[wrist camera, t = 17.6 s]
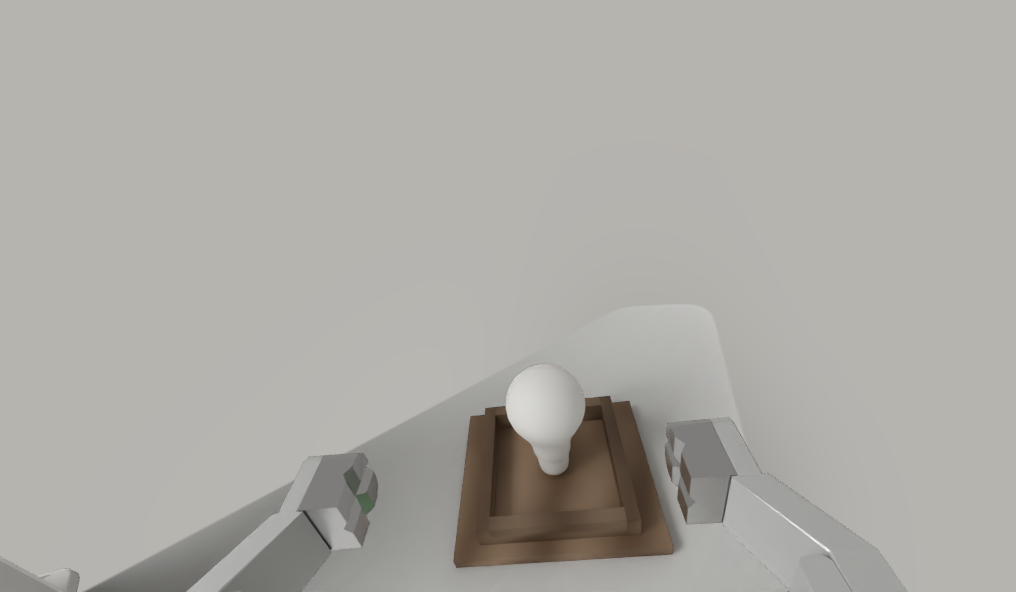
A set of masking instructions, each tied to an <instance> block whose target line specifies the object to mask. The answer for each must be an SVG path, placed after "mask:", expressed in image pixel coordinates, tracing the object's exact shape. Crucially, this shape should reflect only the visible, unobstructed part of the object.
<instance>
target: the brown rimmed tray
mask: <svg viewBox="0 0 1016 592" xmlns="http://www.w3.org/2000/svg"><path fill="white" fill-rule="evenodd" d="M570 444H571V446H570V451H569V465H568V467H567V469H566V470H565V471H564V472H563V473H561V474H559V475H549V474H547V473H545V472H544V471H543V470H542V469H541V467H540V464H539V460H538V457H537V456H536V455H535V453H534V451H533V447H532V445H531V443H529V442H528V441H526V440H525V439H524V438H522V437H521V436H520V435H519V434H518V433H517V432H516V431H515V430H514V428H513V427H512V425H511V423H510V421H509V420H508V416H507V412H506V406H503V407H493V408H486V410H485V415H480V416H471V418H470V426H469V435H468V443H467V451H466V460H465V468H464V477H463V485H462V493H461V502H460V510H459V519H458V527H457V536H456V544H455V552H454V563H455V565H456V568H458V567H474V566H490V565H506V564H522V563H539V562H555V561H571V560H587V559H603V558H619V557H635V556H652V555H668V554H672V553H673V545H672V542H671V538H670V535H669V532H668V528H667V525H666V522H665V518H664V515H663V512H662V508H661V505H660V502H659V499H658V495H657V492H656V489H655V485H654V482H653V479H652V475H651V472H650V469H649V465H648V462H647V459H646V455H645V452H644V449H643V445H642V442H641V439H640V435H639V432H638V429H637V426H636V422H635V419H634V416H633V412H632V409H631V406H630V402H629V401H624V402H614V403H612V402H611V398H610V396H604V397H594V398H585V413H584V417H583V420H582V423H581V424H580V426H579V428H578V429H577V431H576V432H575V434H574V435H573V436H572V437H571V441H570Z"/></svg>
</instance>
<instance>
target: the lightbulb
mask: <svg viewBox="0 0 1016 592" xmlns="http://www.w3.org/2000/svg"><path fill="white" fill-rule="evenodd" d="M506 412H507V416H508V420H509V421H510V423H511V425H512V427H513V428H514V430H515V431H516V432H517V433H518V434H519V435H520V436H521V437H522V438H524V439H525V440H526V441H528V442H529V443H531V445H532V447H533V451H534V453H535V455H536V456H537V457H538V460H539V464H540V467H541V469H542V470H543V471H544V472H545V473H547V474H549V475H559V474H561V473H563V472H564V471H565V470H566V469H567V467H568V465H569V451H570V446H571V444H570V441H571V437H572V436H573V435H574V434H575V432H576V431H577V429H578V428H579V426H580V424H581V423H582V420H583V417H584V413H585V398H584V394H583V391H582V389H581V386H580V384H579V383H578V381H577V380H576V379H575V377H574V376H573V375H571V374H570V373H569V372H568V371H566V370H565V369H563V368H561V367H559V366H556V365H552V364H537V365H533V366H530V367H528V368H526V369H524V370H523V371H522V372H521V373H519V374H518V375H517V376H516V377H515V378H514V380H513V381H512V383H511V384H510V386H509V388H508V392H507V396H506Z"/></svg>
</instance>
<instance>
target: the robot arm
mask: <svg viewBox="0 0 1016 592" xmlns="http://www.w3.org/2000/svg"><path fill="white" fill-rule="evenodd" d="M666 435H667V438H668V442H667V443H666V444H665V457H666V464H667V468H668V472H669V475H670V478H671V481H672V483H674V484H675V485H676V486H677V487H678V501H679V504H680V507H681V510H682V513H683V516H684V518H685V521H686V524H703V523H723V525H724V526H725V527H726V528H727V529H728V530H729V531H730V532H731V533H732V534H733V535H734V536H735V537H736V538H737V539H738V540H739V541H740V542H741V543H742V544H743V545H744V546H745V547H746V548H747V549H748V550H749V551H750V552H751V553H752V554H753V555H754V556H755V557H756V558H757V559H758V560H759V561H760V562H761V563H762V564H763V565H764V566H765V567H766V568H767V569H768V570H769V571H770V572H771V573H772V574H773V575H774V576H775V577H776V578H777V579H778V580H779V581H780V582H781V583H782V584H783V585H784V586H785V587H786V588H787V589H788V592H907V590H906V589H905V587H904V586H903V585H902V583H901V582H900V580H899V579H898V577H897V576H896V575H895V573H894V572H893V570H892V569H891V567H890V566H889V565H888V563H887V562H886V560H885V559H884V558H883V556H882V554H881V553H880V551H879V550H878V549H877V548H875V547H874V546H872V545H871V544H869V543H868V542H866V541H865V540H864V539H862V538H861V537H859V536H858V535H856V534H855V533H854V532H852V531H851V530H849V529H848V528H846V527H845V526H844V525H842V524H841V523H839V522H838V521H836V520H835V519H834V518H832V517H831V516H829V515H828V514H826V513H825V512H824V511H822V510H821V509H819V508H818V507H816V506H815V505H813V504H812V503H811V502H809V501H808V500H806V499H805V498H803V497H802V496H801V495H799V494H798V493H796V492H795V491H793V490H792V489H791V488H789V487H788V486H786V485H785V484H783V483H782V482H781V481H779V480H778V479H776V478H775V477H773V476H772V475H770V474H768V473H767V474H762V472H761V470H760V469H759V467H758V465H757V463H756V461H755V460H754V458H753V456H752V454H751V453H750V451H749V449H748V447H747V445H746V444H745V442H744V440H743V438H742V437H741V435H740V433H739V431H738V429H737V428H736V426H735V424H734V422H733V421H732V420H731V419H730V418H729V417H728V418H717V419H708V420H707V419H703V420H693V421H684V422H675V423H668V424H667V426H666ZM367 462H368V460H367V458H366V456H365V454H364V453H354V454H339V455H325V456H313V457H308V458H307V459H306V460H305V461H304V462H303V464H302V466H301V468H300V470H299V472H298V474H297V476H296V478H295V480H294V482H293V484H292V486H291V488H290V490H289V492H288V494H287V496H286V498H285V500H284V502H283V504H282V506H281V508H280V510H279V512H278V513H276V514H272V515H271V516H270V517H269V518H268V519H267V520H265V521H264V522H263V523H262V524H261V525H260V526H259V527H258V528H257V529H255V530H254V531H253V532H252V533H251V534H250V535H249V536H248V537H247V538H245V539H244V540H243V541H242V542H241V543H240V544H239V545H238V546H237V547H235V548H234V549H233V550H232V551H231V552H230V553H229V554H228V555H226V556H225V557H224V558H223V559H222V560H221V561H220V562H219V563H218V564H216V565H215V566H214V567H213V568H212V569H211V570H210V571H209V572H208V573H206V574H205V575H204V576H203V577H202V578H201V579H200V580H199V581H198V582H196V583H195V584H194V585H193V586H192V587H191V588H190V589H189V590H188V591H186V592H301V591H302V589H303V588H304V587H305V586H306V584H307V583H308V582H309V581H310V579H311V578H312V577H313V575H314V574H315V573H316V572H317V570H318V569H319V568H320V567H321V565H322V564H323V563H324V562H325V560H326V559H327V558H328V556H329V555H330V554H331V551H332V550H342V549H352V548H362V546H363V542H364V539H365V536H366V533H367V529H368V526H369V523H370V522H369V520H368V517H367V514H368V513H369V512H370V510H371V509H372V508H373V507H374V506H375V502H376V499H377V491H378V483H377V478H376V475H375V473H374V471H373V470H371V469H369V468H368V467H366V465H367ZM78 584H79V574H78V573H77V572H75V571H73V570H71V569H68V568H64V569H59V570H55V571H52V572H48V573H44V574H41V575H34V574H32V573H30V572H29V571H27V570H25V569H23V568H21V567H19V566H18V565H16V564H14V563H12V562H10V561H8V560H6V559H4V558H2V557H1V556H0V592H77V588H78Z"/></svg>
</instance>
